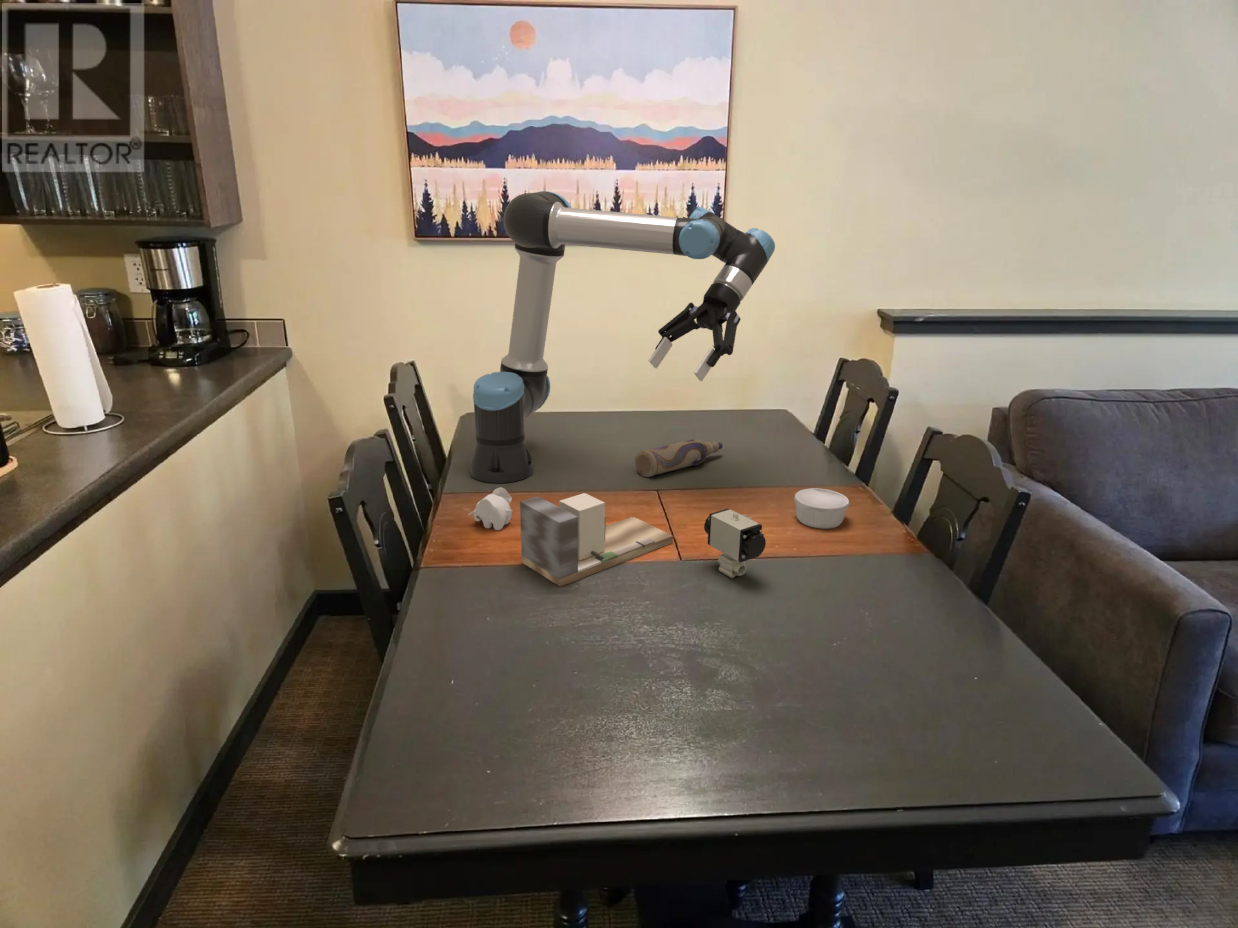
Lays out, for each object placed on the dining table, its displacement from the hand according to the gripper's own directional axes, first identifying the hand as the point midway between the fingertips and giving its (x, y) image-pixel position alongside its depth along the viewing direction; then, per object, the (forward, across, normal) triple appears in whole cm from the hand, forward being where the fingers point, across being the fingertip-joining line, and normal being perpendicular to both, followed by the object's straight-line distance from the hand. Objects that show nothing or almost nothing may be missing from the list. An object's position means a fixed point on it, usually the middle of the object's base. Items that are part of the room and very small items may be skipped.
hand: (674, 370), depth 171 cm
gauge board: (+41, -10, -1) cm, 42 cm away
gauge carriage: (+43, -12, +4) cm, 45 cm away
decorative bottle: (+9, +13, -33) cm, 37 cm away
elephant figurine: (+48, +14, +6) cm, 50 cm away
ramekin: (+9, -28, -34) cm, 45 cm away
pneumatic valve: (+31, -32, -11) cm, 46 cm away
